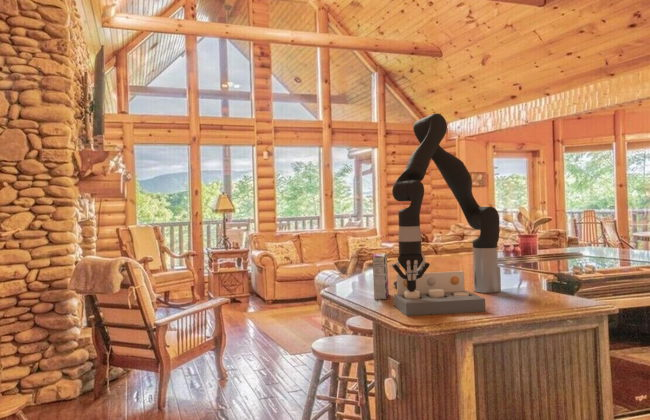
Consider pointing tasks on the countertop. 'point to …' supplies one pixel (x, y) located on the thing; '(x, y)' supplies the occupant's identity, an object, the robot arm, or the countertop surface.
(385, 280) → the candy bar box
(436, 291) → the button middle
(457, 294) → the button
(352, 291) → the countertop surface
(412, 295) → the button
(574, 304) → the countertop surface
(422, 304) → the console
